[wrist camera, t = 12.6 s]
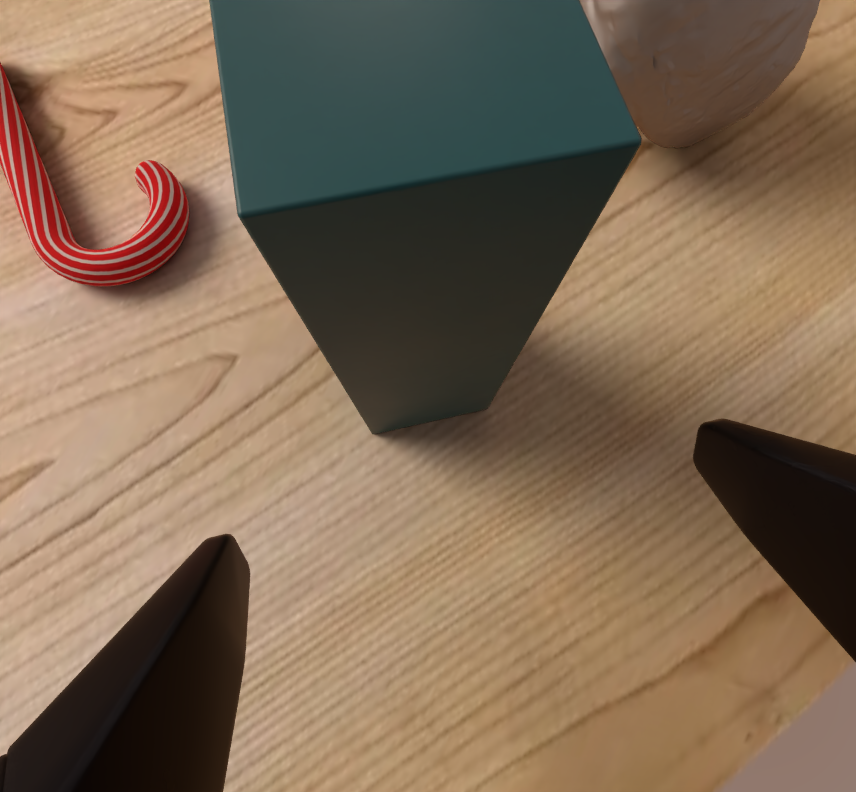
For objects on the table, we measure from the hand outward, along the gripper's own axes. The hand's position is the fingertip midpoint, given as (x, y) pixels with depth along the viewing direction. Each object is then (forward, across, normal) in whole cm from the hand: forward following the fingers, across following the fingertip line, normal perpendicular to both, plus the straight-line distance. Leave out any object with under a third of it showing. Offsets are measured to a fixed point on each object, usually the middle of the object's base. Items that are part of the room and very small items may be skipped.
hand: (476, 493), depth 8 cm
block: (+9, 0, +1) cm, 9 cm away
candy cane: (+18, +13, -8) cm, 23 cm away
